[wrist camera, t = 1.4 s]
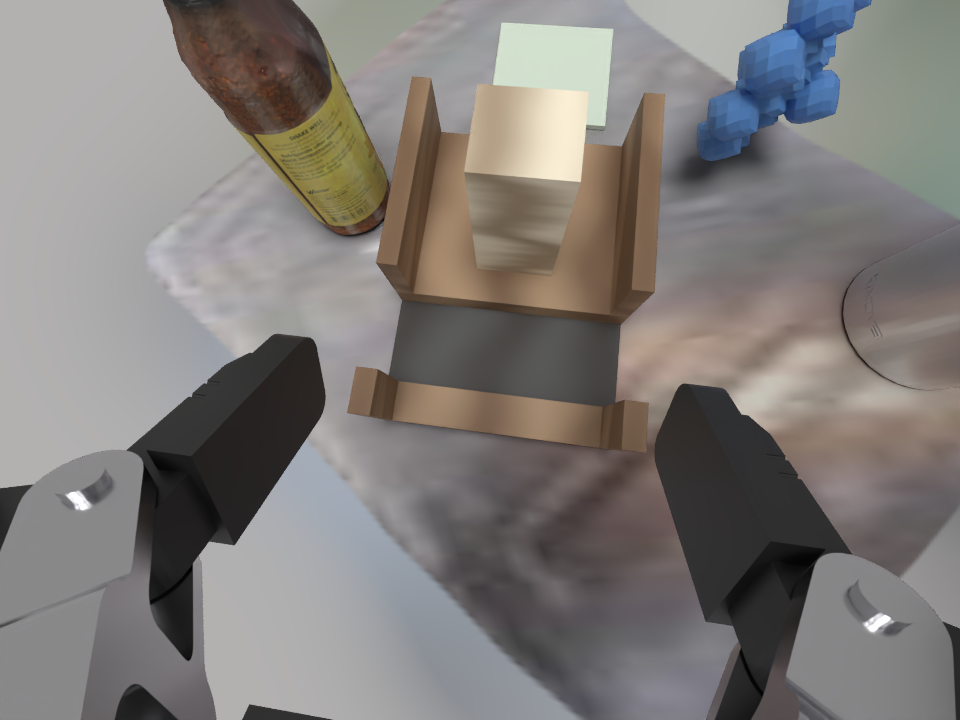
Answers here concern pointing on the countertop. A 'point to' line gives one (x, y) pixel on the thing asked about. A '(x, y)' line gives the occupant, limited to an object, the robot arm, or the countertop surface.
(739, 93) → the grapes
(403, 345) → the wooden holder
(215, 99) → the sauce bottle
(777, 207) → the countertop surface
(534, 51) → the mat
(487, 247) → the block
